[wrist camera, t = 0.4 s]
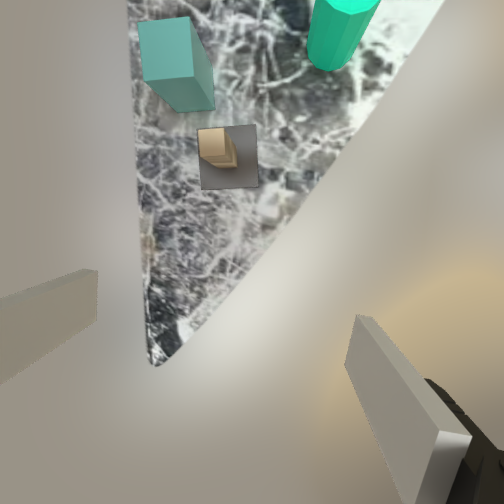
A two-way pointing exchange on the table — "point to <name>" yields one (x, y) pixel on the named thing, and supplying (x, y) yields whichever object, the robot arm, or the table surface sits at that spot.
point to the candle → (337, 30)
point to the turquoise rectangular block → (176, 64)
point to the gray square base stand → (228, 157)
